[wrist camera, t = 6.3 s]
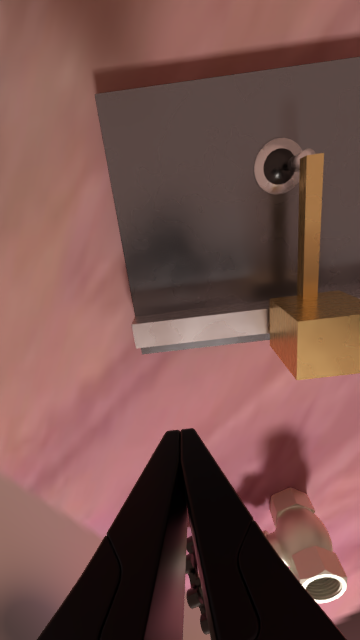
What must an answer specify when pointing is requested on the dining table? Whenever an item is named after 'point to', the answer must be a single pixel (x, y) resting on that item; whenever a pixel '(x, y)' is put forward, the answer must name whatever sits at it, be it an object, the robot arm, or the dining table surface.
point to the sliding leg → (314, 296)
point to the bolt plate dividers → (230, 196)
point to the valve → (289, 551)
